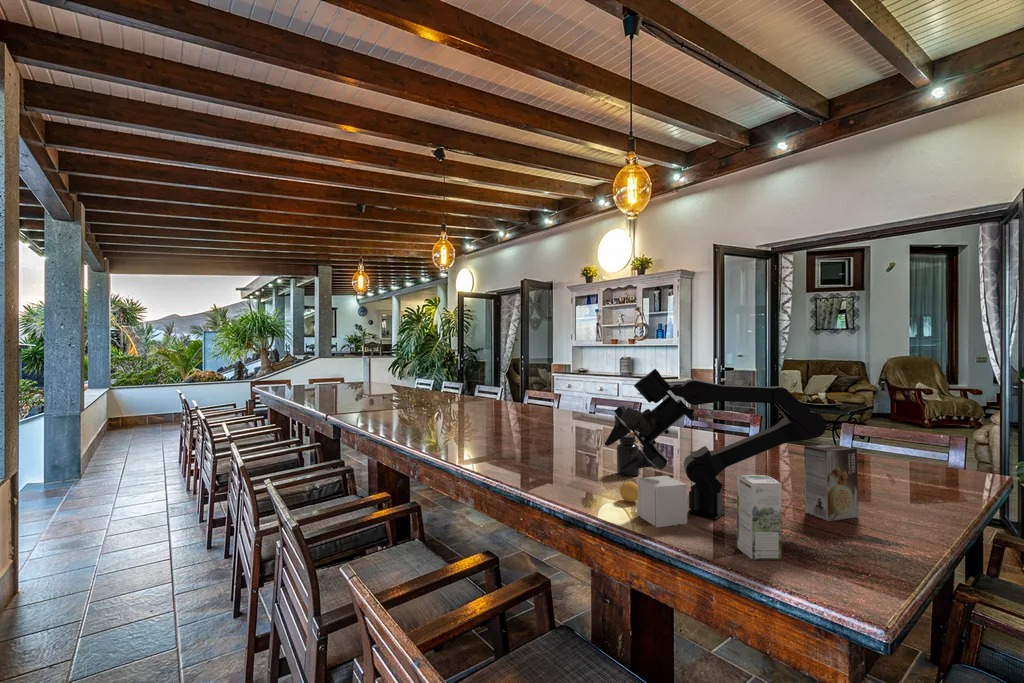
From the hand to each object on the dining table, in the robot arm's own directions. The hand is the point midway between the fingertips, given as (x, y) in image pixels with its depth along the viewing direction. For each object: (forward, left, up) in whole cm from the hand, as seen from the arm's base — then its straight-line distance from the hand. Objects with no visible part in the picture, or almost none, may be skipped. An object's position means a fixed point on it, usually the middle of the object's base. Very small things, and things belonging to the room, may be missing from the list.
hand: (613, 457), depth 120 cm
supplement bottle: (+13, -30, -12) cm, 35 cm away
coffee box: (-41, -29, -12) cm, 52 cm away
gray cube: (-13, +1, -12) cm, 18 cm away
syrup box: (-35, +6, -12) cm, 38 cm away
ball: (-1, -6, -10) cm, 11 cm away
